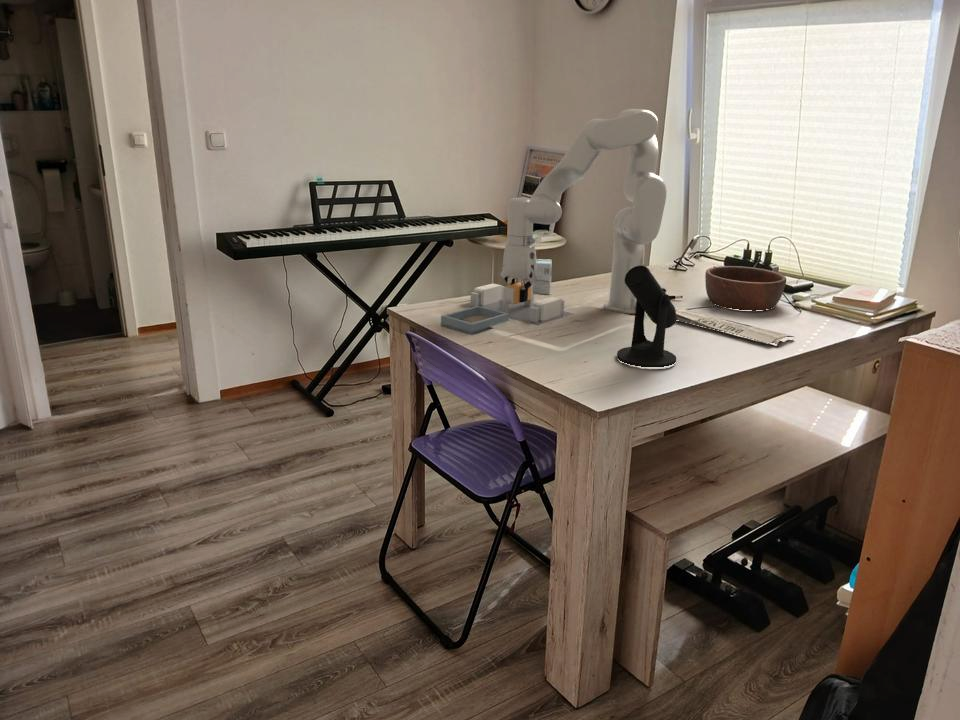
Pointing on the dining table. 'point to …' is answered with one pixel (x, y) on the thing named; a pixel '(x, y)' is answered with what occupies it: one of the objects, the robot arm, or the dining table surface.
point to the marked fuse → (515, 293)
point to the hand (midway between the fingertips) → (518, 299)
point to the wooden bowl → (744, 287)
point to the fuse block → (516, 309)
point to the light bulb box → (542, 277)
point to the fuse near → (548, 307)
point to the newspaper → (730, 326)
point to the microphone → (659, 312)
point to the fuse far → (489, 293)
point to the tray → (473, 328)
